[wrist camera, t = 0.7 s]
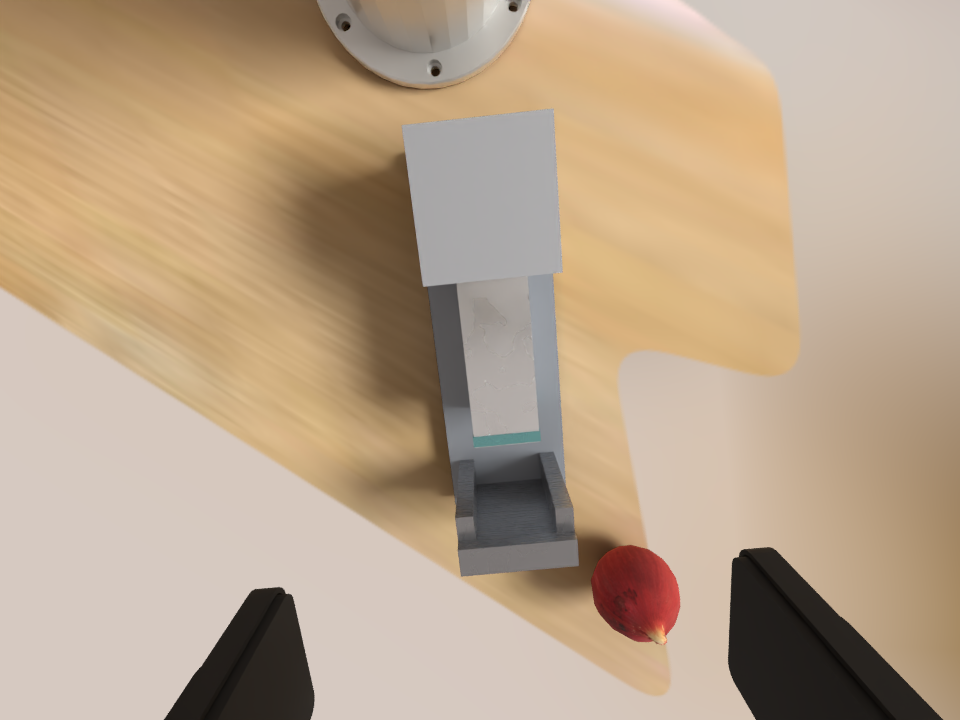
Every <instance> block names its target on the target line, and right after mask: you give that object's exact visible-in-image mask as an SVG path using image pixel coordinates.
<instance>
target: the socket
mask: <svg viewBox="0 0 960 720" xmlns="http://www.w3.org/2000/svg"><path fill="white" fill-rule="evenodd" d="M539 455H540V468H541V478H540V479H529V480H518V481H508V482H497V483H486V484H477V480H476V471H475V463H474V459H468V460H460V466H459V478H458V491H457V503H456V515H455V520H456V527H457V535H458V556H459V564H460V572H461V576H472V575H483V574H495V573H506V572H517V571H528V570H539V569H551V568H562V567H573V566H579V558H578V540H577V537H576V534H575V530H574V512H573V505H572V502H571V500H570V497H569V494H568V491H567V488H566V485H565V482H564V480H563V477H562V474H561V471H560V468H559V465H558V463H557V460H556V457H555V454H554V451H553V452H542V453H539Z"/></svg>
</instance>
